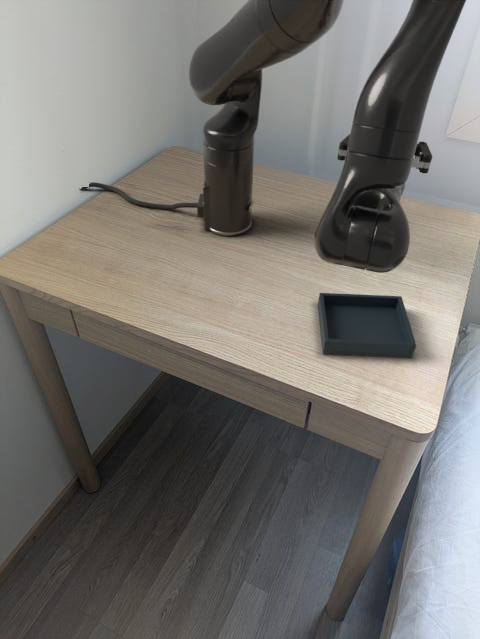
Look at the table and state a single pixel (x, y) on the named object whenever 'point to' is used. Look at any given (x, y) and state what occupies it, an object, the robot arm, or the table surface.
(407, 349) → the tray
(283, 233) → the table surface
